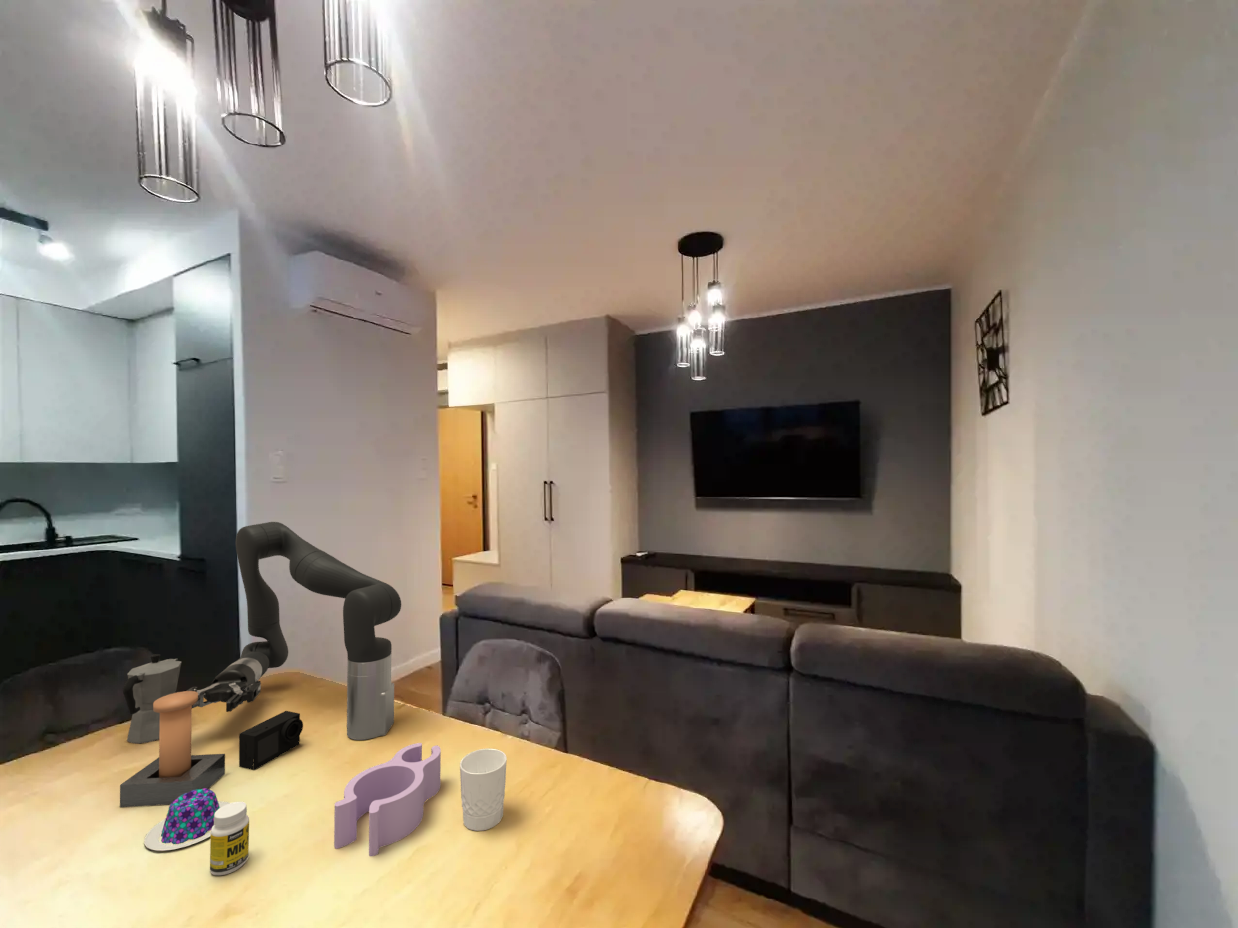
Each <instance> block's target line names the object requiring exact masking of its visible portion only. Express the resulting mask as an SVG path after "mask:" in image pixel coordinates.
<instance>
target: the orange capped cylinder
mask: <svg viewBox="0 0 1238 928" xmlns="http://www.w3.org/2000/svg"><path fill="white" fill-rule="evenodd" d="M197 701H198V693H197V692H195V691H187V690H186V691H184V690H183V691H177V692H175V693H173V694H169V695H166V696H163V697H161V698H159V699H157V700H156V701H154V703H153V711H154V712H157V713H160V731H159V740H158V741H159V742H158V744H159V746H158V747H159V749H158V753H159V755H158V758H159V778H166V777H181V776H182V775H183V774H185V773H186V772H187V771H188V770H190V769H191V755H192V720H193V717H192V715H193V713H192V711H193V708H192V705H194V704H195V703H196V702H197Z"/></svg>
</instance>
